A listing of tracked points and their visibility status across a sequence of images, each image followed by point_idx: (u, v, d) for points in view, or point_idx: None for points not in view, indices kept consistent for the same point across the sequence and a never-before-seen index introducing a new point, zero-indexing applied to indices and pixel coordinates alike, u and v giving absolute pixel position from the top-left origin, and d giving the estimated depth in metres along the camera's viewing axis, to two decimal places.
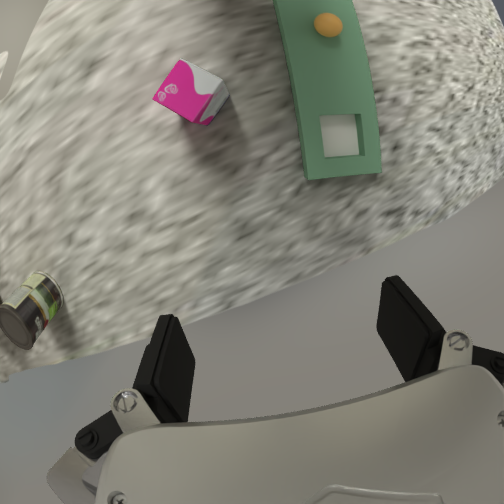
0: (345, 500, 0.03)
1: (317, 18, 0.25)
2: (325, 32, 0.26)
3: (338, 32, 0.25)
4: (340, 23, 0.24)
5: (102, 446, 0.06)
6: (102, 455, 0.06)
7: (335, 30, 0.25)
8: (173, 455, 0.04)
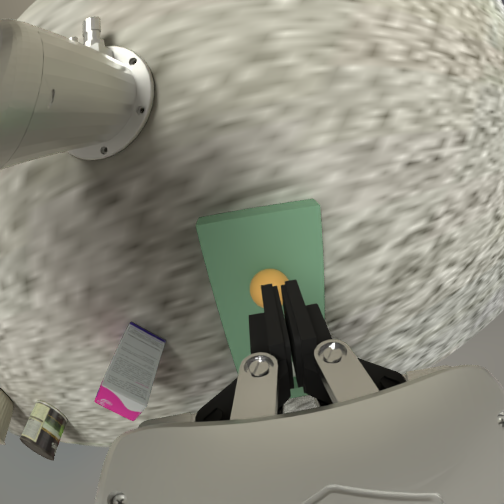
0: (345, 500, 0.03)
1: (252, 289, 0.26)
2: None
3: None
4: None
5: None
6: None
7: None
8: (173, 455, 0.04)
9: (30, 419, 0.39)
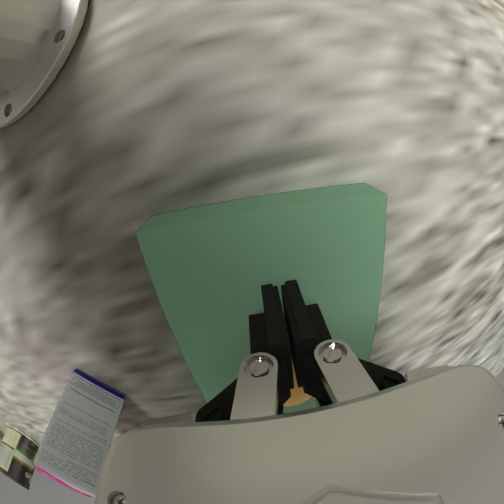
0: (345, 500, 0.03)
1: None
2: None
3: None
4: None
5: None
6: None
7: None
8: (173, 455, 0.04)
9: (1, 445, 0.25)
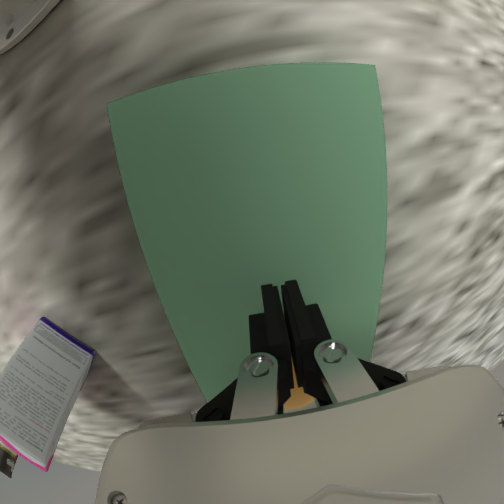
0: (345, 500, 0.03)
1: None
2: None
3: None
4: None
5: None
6: None
7: None
8: (173, 455, 0.04)
9: None
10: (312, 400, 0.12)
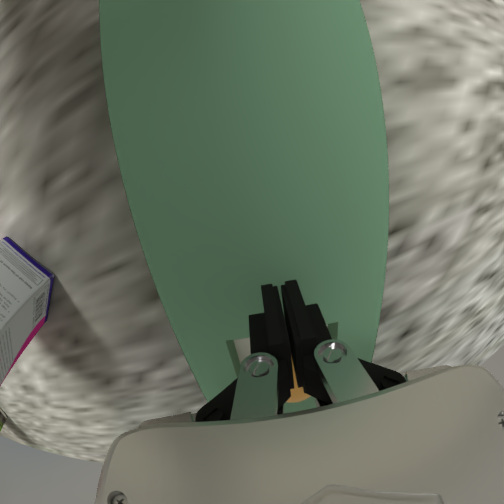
0: (345, 500, 0.03)
1: None
2: None
3: None
4: None
5: None
6: None
7: None
8: (173, 455, 0.04)
9: None
10: None
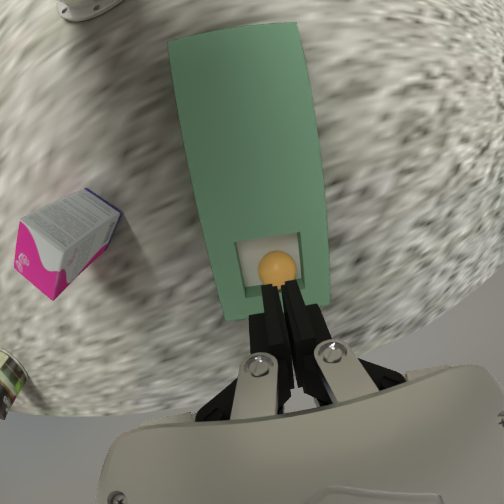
0: (345, 500, 0.03)
1: None
2: None
3: None
4: None
5: None
6: None
7: None
8: (173, 455, 0.04)
9: None
10: (286, 260, 0.27)
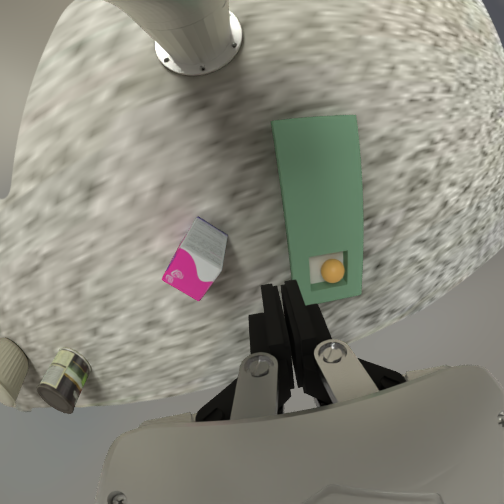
0: (345, 500, 0.03)
1: None
2: (324, 262, 0.44)
3: None
4: None
5: None
6: None
7: None
8: (173, 455, 0.04)
9: (51, 366, 0.46)
10: (339, 262, 0.42)
